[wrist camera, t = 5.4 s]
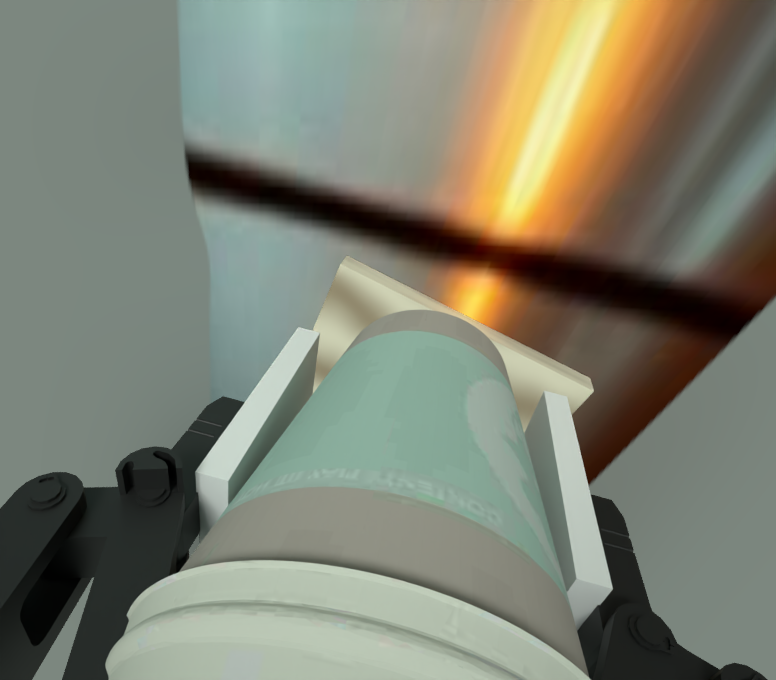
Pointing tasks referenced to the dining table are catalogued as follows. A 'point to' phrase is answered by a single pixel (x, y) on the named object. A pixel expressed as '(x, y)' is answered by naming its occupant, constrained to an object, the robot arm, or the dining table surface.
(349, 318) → the serving board
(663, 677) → the robot arm
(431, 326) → the coffee cup
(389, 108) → the dining table surface
